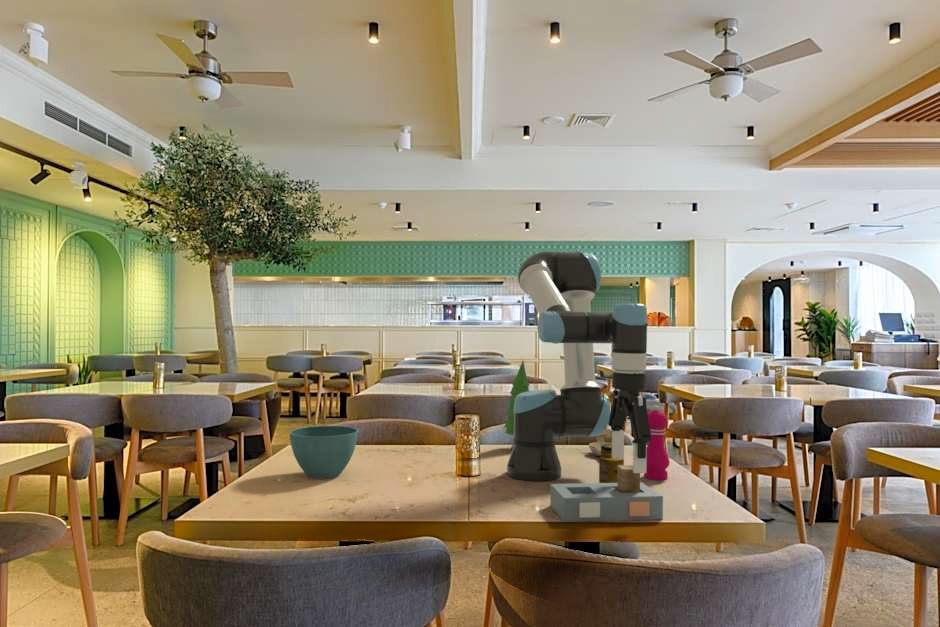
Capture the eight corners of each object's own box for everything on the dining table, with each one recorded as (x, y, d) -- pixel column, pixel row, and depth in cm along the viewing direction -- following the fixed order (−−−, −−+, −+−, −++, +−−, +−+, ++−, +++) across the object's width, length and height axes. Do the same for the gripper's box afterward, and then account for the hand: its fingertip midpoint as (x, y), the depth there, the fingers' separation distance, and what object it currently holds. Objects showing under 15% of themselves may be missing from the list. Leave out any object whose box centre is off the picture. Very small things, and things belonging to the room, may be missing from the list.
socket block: (564, 522, 134) (564, 499, 134) (550, 505, 147) (550, 484, 147) (663, 520, 137) (664, 496, 137) (641, 503, 149) (641, 482, 149)
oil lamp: (611, 449, 214) (611, 419, 214) (622, 463, 193) (622, 430, 193) (585, 448, 214) (585, 419, 215) (593, 462, 193) (593, 430, 193)
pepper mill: (670, 481, 171) (671, 407, 171) (643, 479, 172) (643, 406, 173) (667, 475, 178) (668, 403, 178) (641, 473, 179) (641, 403, 180)
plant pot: (276, 475, 173) (276, 430, 173) (332, 464, 186) (332, 423, 186) (313, 487, 160) (314, 439, 160) (370, 475, 174) (371, 430, 174)
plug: (622, 514, 141) (622, 469, 141) (617, 509, 145) (617, 465, 145) (639, 514, 141) (640, 469, 141) (634, 509, 145) (634, 465, 145)
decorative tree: (538, 448, 213) (538, 359, 214) (521, 452, 206) (522, 360, 206) (515, 444, 220) (516, 358, 220) (498, 448, 212) (499, 359, 213)
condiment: (630, 496, 155) (630, 447, 155) (598, 498, 153) (598, 449, 153) (616, 489, 162) (617, 442, 162) (586, 490, 160) (586, 443, 160)
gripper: (668, 377, 131) (667, 479, 131) (625, 367, 156) (624, 453, 156) (633, 376, 130) (632, 479, 130) (595, 366, 155) (594, 453, 155)
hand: (628, 465), depth 143 cm, fingers open, 13 cm apart
